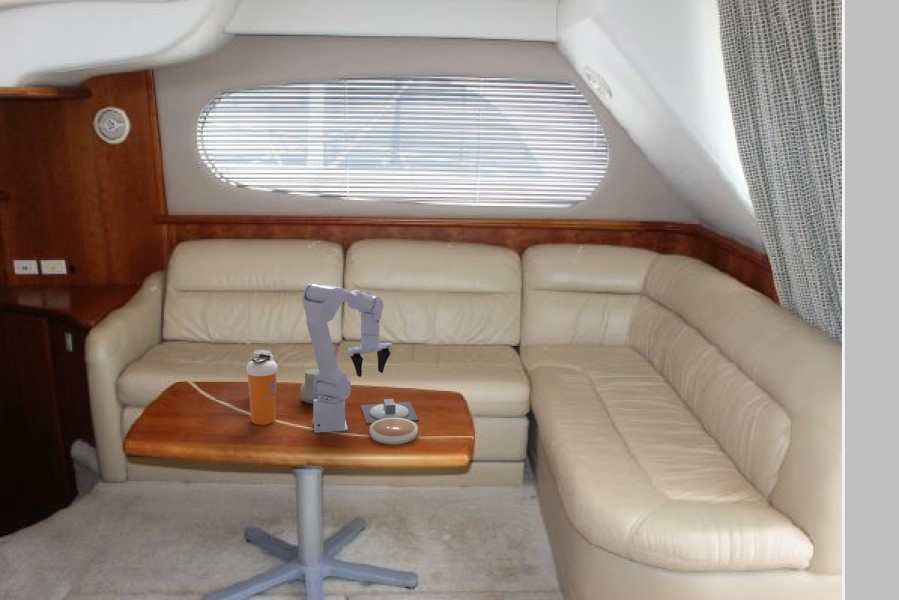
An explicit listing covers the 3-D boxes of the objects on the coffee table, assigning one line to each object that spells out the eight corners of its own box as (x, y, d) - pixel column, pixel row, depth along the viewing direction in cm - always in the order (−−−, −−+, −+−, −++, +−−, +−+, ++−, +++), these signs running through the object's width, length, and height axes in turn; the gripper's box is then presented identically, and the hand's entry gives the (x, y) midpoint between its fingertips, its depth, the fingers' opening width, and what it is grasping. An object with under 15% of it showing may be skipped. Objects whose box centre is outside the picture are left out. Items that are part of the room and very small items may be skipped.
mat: (366, 424, 218) (366, 422, 218) (360, 406, 231) (360, 404, 231) (418, 420, 222) (418, 419, 222) (410, 403, 235) (410, 401, 235)
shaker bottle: (243, 424, 215) (240, 360, 210) (255, 412, 223) (253, 351, 218) (272, 427, 214) (270, 363, 209) (283, 415, 222) (281, 353, 217)
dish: (373, 446, 204) (373, 439, 204) (366, 425, 217) (366, 419, 217) (422, 442, 207) (422, 435, 207) (412, 422, 220) (412, 416, 220)
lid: (372, 421, 219) (372, 410, 218) (367, 406, 230) (367, 395, 229) (411, 419, 222) (412, 408, 221) (404, 404, 233) (404, 393, 232)
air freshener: (326, 407, 230) (325, 377, 227) (299, 407, 229) (299, 377, 226) (329, 394, 240) (328, 365, 238) (303, 394, 239) (303, 365, 237)
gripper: (354, 339, 220) (354, 381, 223) (396, 333, 228) (396, 374, 231) (344, 333, 226) (344, 374, 229) (386, 327, 233) (385, 367, 237)
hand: (369, 373), depth 230 cm, fingers open, 7 cm apart
